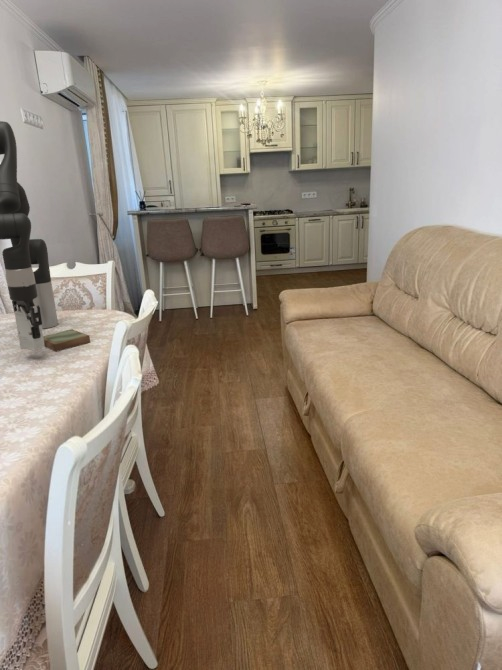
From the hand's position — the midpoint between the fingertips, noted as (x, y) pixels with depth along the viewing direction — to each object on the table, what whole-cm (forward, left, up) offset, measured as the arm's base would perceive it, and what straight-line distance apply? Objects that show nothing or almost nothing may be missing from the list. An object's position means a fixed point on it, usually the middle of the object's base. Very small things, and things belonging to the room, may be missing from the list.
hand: (31, 335), depth 138 cm
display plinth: (-6, +13, -7) cm, 16 cm away
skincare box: (0, 0, -4) cm, 4 cm away
